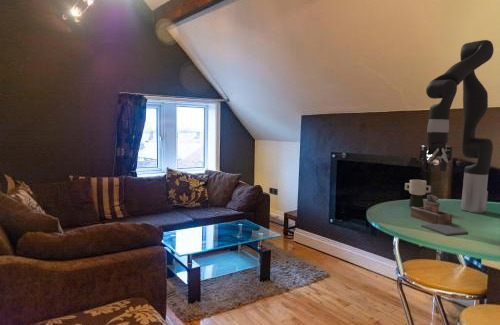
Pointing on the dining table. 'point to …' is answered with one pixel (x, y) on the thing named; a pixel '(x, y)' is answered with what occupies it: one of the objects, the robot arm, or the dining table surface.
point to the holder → (431, 216)
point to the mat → (444, 229)
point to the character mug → (417, 192)
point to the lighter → (431, 204)
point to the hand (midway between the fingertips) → (434, 171)
